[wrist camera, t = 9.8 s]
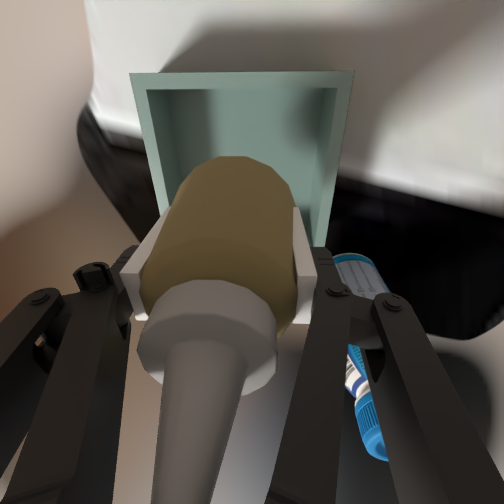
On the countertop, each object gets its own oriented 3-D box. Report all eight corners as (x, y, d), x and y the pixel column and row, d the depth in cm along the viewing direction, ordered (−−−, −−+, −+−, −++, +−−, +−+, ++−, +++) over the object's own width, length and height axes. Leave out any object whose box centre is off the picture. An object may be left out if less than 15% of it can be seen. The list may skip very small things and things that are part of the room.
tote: (157, 73, 24) (129, 73, 19) (335, 71, 23) (354, 70, 18) (183, 228, 33) (169, 256, 28) (313, 230, 32) (322, 258, 27)
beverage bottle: (354, 237, 33) (449, 406, 16) (387, 277, 36) (495, 451, 19) (300, 273, 36) (331, 442, 19) (335, 306, 39) (387, 476, 23)
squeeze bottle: (190, 131, 18) (-164, 396, 3) (304, 154, 19) (478, 472, 4) (185, 232, 22) (30, 542, 7) (277, 248, 23) (305, 565, 8)
